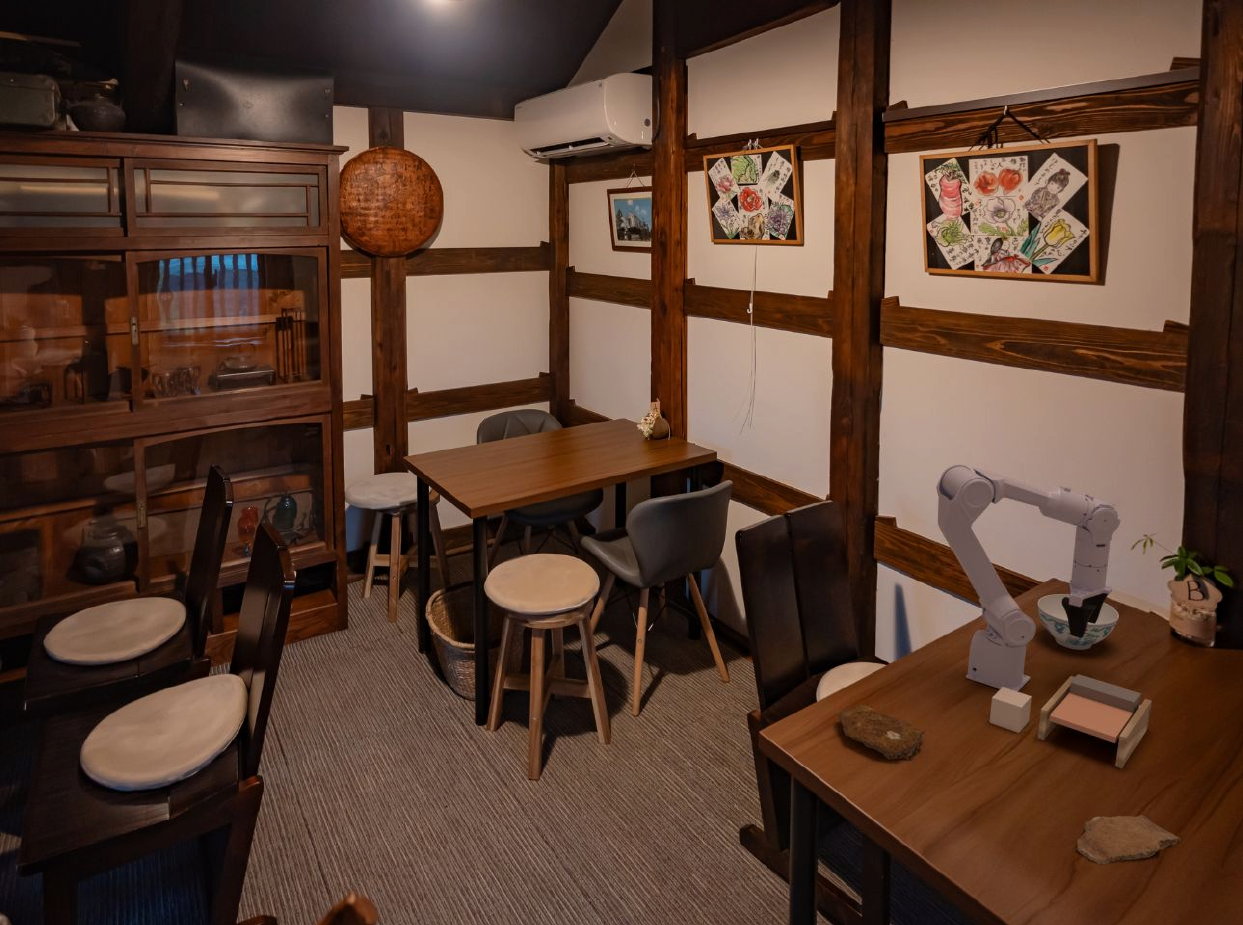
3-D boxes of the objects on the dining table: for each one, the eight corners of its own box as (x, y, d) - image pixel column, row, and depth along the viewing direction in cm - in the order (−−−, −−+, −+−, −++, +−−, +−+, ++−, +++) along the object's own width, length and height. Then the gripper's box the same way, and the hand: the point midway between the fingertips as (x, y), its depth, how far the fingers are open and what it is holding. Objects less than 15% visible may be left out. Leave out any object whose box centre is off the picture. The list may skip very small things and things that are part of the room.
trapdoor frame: (1037, 738, 149) (1041, 709, 147) (1067, 703, 160) (1070, 675, 158) (1121, 768, 140) (1126, 738, 139) (1147, 729, 151) (1151, 700, 150)
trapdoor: (1049, 720, 147) (1051, 704, 146) (1076, 689, 157) (1078, 674, 156) (1114, 743, 140) (1117, 726, 139) (1138, 708, 150) (1140, 693, 149)
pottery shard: (1113, 887, 117) (1183, 844, 123) (1115, 872, 117) (1185, 828, 123) (1058, 850, 125) (1127, 811, 131) (1059, 835, 124) (1128, 796, 130)
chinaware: (1041, 621, 193) (1044, 588, 191) (1118, 637, 185) (1122, 604, 183) (1027, 647, 181) (1031, 613, 179) (1108, 666, 173) (1113, 630, 171)
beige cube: (989, 722, 154) (992, 697, 153) (1000, 711, 157) (1002, 686, 156) (1018, 733, 151) (1021, 707, 149) (1028, 721, 154) (1031, 696, 153)
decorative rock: (819, 740, 150) (902, 776, 141) (820, 719, 149) (904, 755, 140) (851, 709, 159) (931, 742, 149) (852, 690, 157) (933, 722, 148)
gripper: (1102, 578, 154) (1094, 648, 158) (1125, 555, 165) (1117, 621, 168) (1059, 569, 159) (1053, 637, 163) (1084, 547, 169) (1078, 611, 173)
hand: (1083, 628), depth 166 cm, fingers open, 7 cm apart
